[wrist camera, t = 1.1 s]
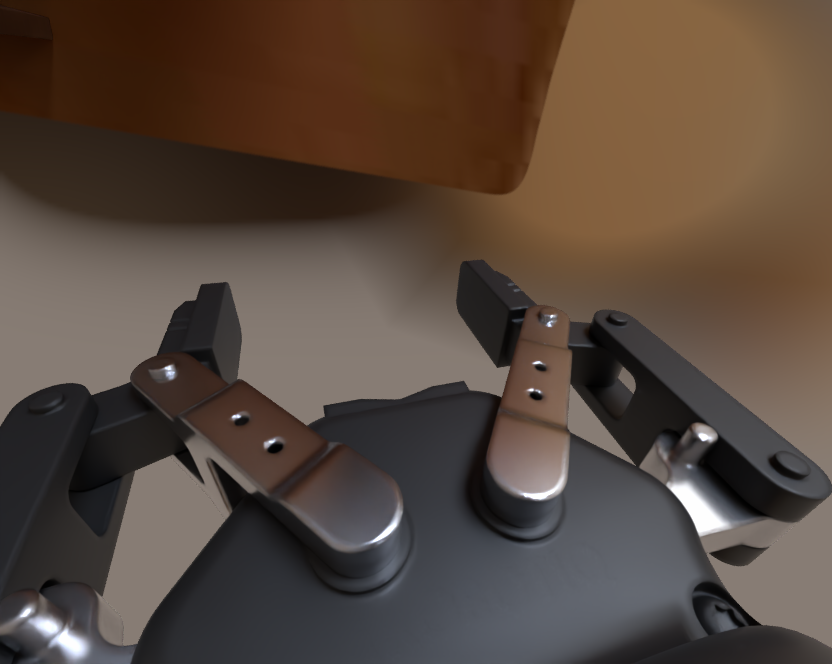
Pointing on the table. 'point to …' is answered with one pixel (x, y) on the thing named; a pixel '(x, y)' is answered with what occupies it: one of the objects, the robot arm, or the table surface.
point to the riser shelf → (24, 24)
